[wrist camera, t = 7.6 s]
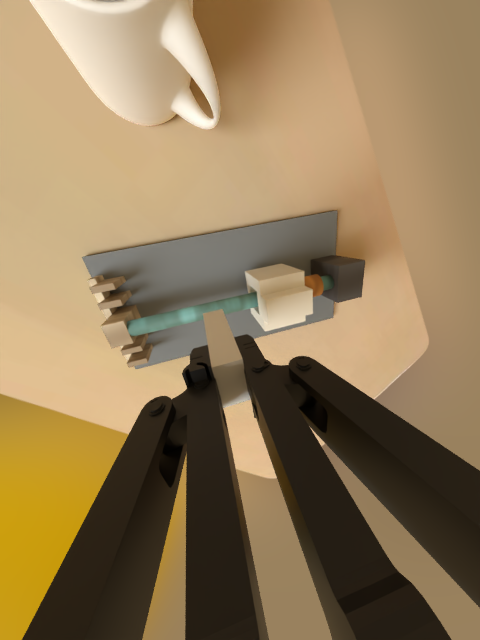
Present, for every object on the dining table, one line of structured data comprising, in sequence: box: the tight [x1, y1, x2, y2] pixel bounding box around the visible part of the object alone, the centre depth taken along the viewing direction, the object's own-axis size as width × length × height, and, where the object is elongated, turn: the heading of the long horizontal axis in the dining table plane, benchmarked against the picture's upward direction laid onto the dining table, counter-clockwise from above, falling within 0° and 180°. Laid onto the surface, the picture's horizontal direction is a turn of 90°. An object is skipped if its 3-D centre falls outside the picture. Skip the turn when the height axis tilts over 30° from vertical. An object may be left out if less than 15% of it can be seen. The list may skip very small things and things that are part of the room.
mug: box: [30, 0, 221, 130], centre depth 12 cm, size 9×12×11 cm
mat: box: [82, 210, 337, 369], centre depth 25 cm, size 14×28×1 cm, turn 100°
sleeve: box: [245, 263, 313, 332], centre depth 21 cm, size 5×4×7 cm
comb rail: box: [87, 255, 365, 368], centre depth 23 cm, size 10×27×6 cm, turn 100°
